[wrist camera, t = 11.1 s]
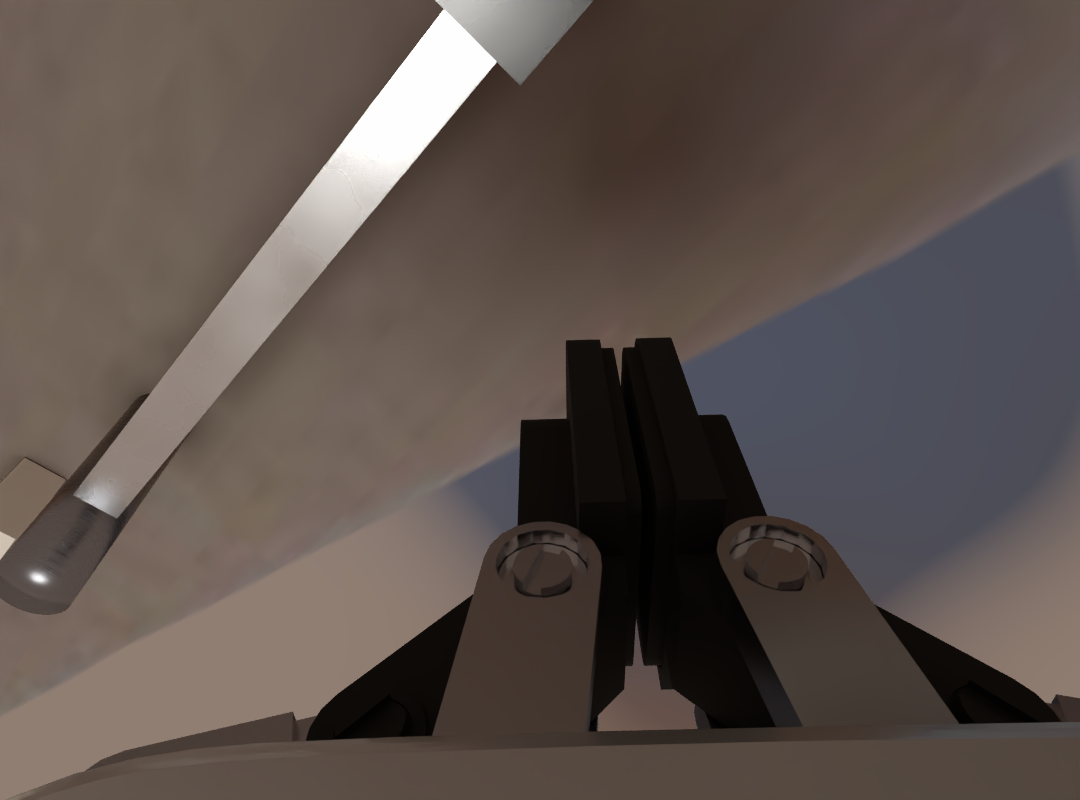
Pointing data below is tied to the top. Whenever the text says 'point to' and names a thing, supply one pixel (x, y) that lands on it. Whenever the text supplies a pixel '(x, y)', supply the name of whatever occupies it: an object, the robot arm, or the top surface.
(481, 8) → the gate
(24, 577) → the hinge post
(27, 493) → the white u-shaped frame
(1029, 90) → the top surface
